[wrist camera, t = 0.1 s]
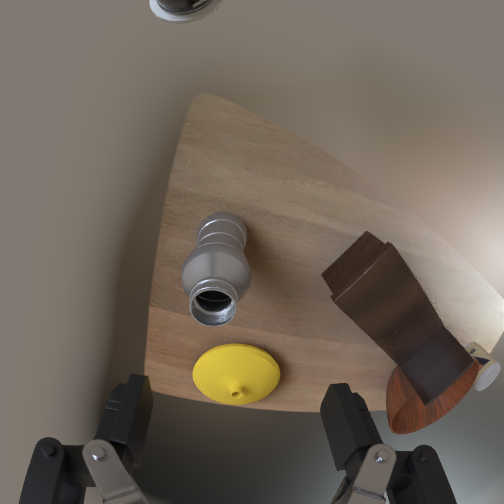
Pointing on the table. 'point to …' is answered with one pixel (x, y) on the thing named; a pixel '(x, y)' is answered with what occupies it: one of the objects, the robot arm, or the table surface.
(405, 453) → the robot arm
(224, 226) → the plastic bottle
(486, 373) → the coffee cup
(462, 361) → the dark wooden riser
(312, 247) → the table surface
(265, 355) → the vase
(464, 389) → the bowl
